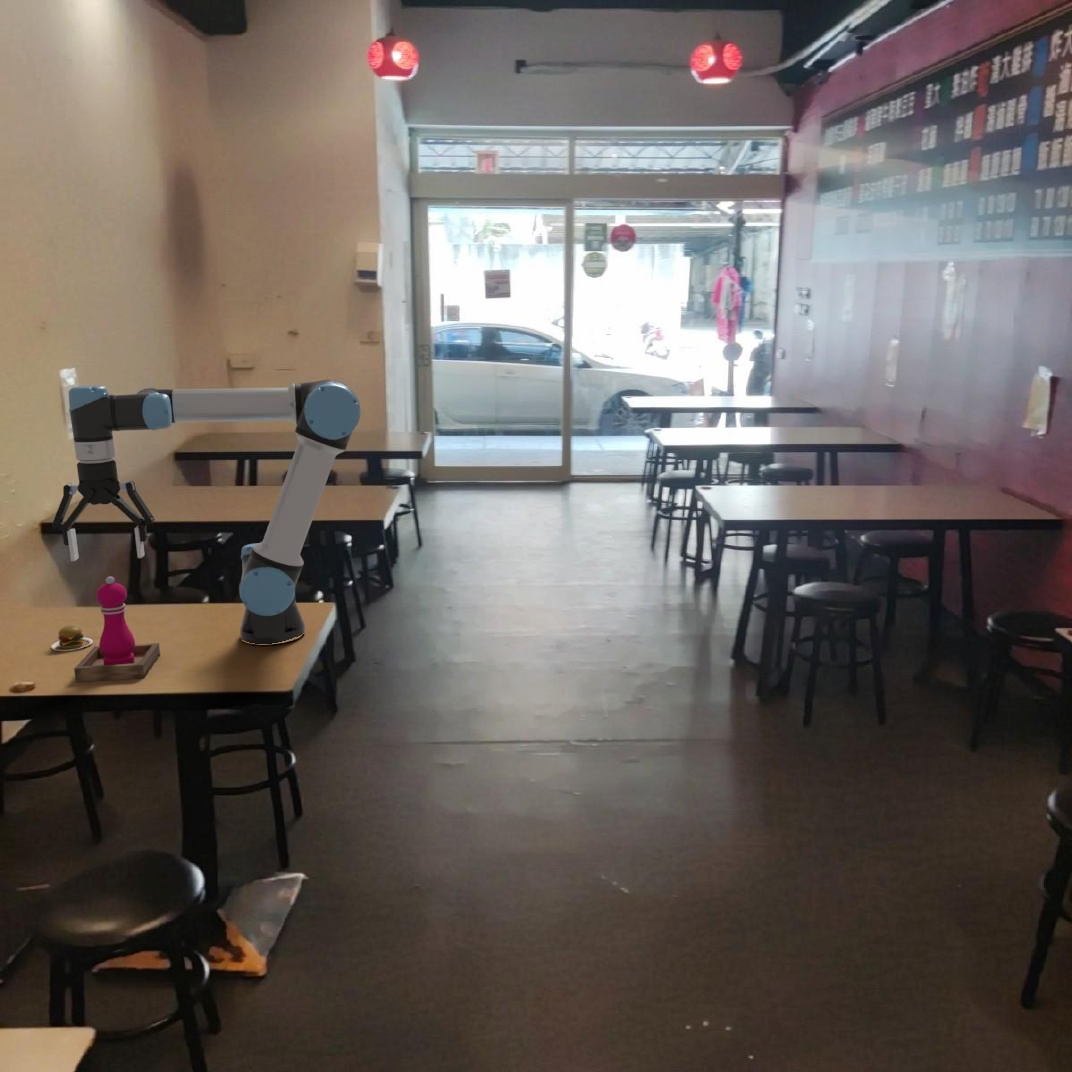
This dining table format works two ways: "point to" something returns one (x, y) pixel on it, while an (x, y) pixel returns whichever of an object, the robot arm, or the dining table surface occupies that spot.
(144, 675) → the walnut tray
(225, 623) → the dining table surface
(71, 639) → the hamburger
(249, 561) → the robot arm
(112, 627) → the pepper mill
